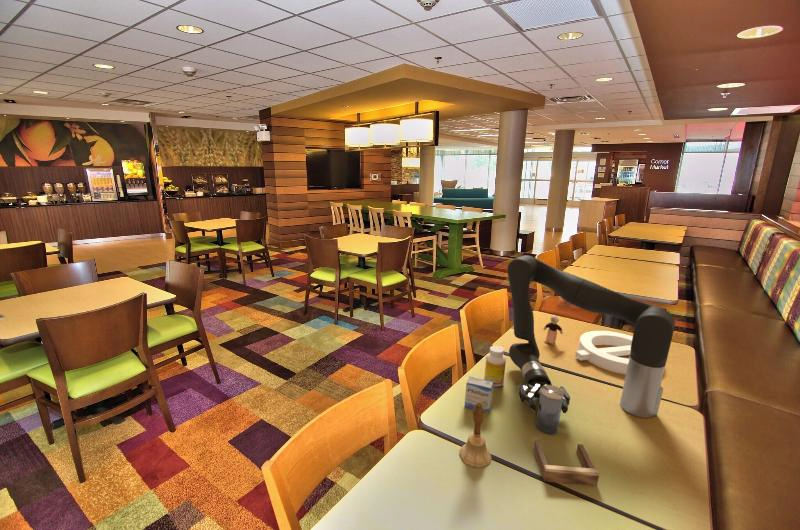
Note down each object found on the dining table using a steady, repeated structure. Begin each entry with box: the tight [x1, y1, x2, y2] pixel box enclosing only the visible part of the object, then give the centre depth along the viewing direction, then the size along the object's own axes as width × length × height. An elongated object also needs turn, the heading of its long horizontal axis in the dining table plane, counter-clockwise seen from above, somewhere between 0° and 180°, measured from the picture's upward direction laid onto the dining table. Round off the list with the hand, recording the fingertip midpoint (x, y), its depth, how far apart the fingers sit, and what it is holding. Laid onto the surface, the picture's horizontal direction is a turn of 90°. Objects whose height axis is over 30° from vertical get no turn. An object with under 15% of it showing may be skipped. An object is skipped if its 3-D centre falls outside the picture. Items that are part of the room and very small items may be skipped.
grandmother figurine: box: [543, 315, 563, 346], centre depth 158 cm, size 8×4×13 cm, turn 67°
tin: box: [535, 385, 564, 436], centre depth 108 cm, size 6×6×12 cm
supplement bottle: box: [483, 345, 507, 388], centre depth 130 cm, size 7×7×13 cm
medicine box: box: [464, 375, 494, 413], centre depth 117 cm, size 8×4×9 cm, turn 68°
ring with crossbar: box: [574, 330, 633, 376], centre depth 150 cm, size 28×28×5 cm
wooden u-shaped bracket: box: [533, 440, 600, 487], centre depth 95 cm, size 12×10×4 cm
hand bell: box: [459, 403, 492, 469], centre depth 97 cm, size 8×8×16 cm
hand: (550, 409), depth 107 cm, fingers open, 8 cm apart
